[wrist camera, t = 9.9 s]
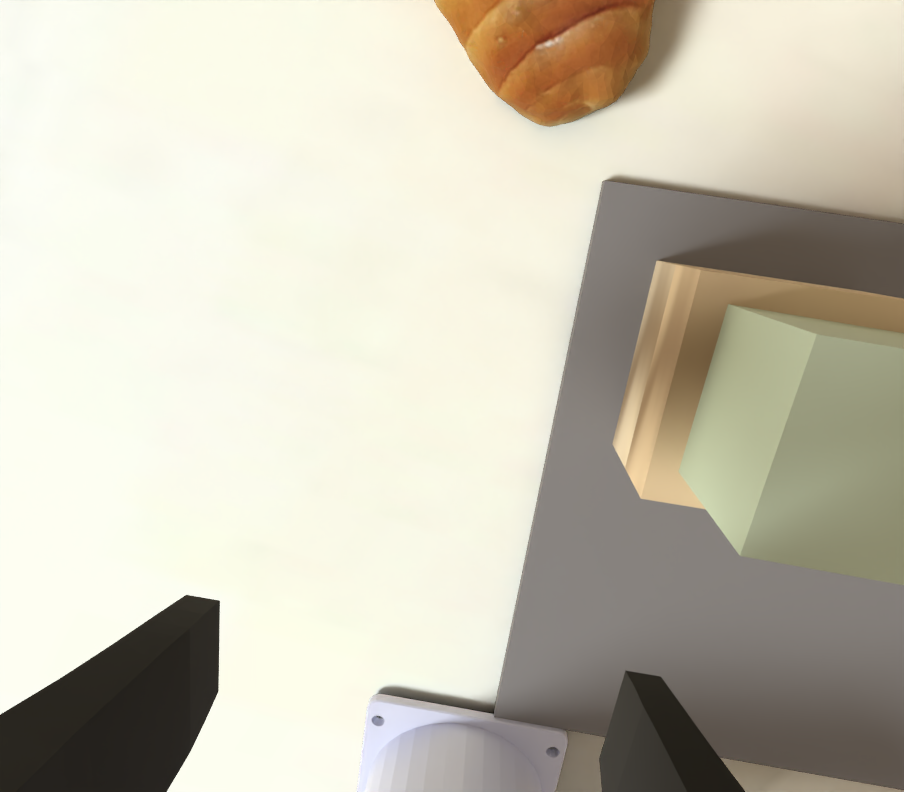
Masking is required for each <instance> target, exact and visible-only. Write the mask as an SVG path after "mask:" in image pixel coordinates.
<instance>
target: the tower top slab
mask: <svg viewBox="0 0 904 792" xmlns="http://www.w3.org/2000/svg"><path fill="white" fill-rule="evenodd" d="M728 304H730V305H736V306H742V307H749V308H755V309H761V310H767V311H773V312H779V313H785V314H791V315H797V316H803V317H809V318H815V319H821V320H827V321H833V322H839V323H845V324H851V325H857V326H863V327H869V328H875V329H881V330H887V331H893V332H900V333H904V299H902V298H896V297H889V296H882V295H876V294H869V293H862V292H856V291H849V290H842V289H836V288H829V287H822V286H815V285H809V284H802V283H795V282H789V281H782V280H775V279H769V278H762V277H755V276H749V275H742V274H735V273H728V272H722V271H715V270H708V269H702V268H695V267H688V266H682V265H676V267H675V271H674V275H673V279H672V283H671V287H670V291H669V295H668V299H667V303H666V307H665V311H664V315H663V319H662V323H661V327H660V331H659V335H658V339H657V343H656V347H655V351H654V355H653V359H652V363H651V367H650V371H649V375H648V379H647V382H646V386H645V390H644V394H643V398H642V402H641V406H640V410H639V414H638V418H637V422H636V426H635V430H634V434H633V438H632V442H631V446H630V450H629V454H628V458H627V462H626V466H625V469H626V471H627V473H628V475H629V477H630V479H631V481H632V483H633V485H634V487H635V489H636V490H637V492H638V494H639V496H640V498H641V499H646V500H652V501H658V502H664V503H670V504H676V505H683V506H689V507H695V508H701V509H705V507H704V506H703V505H702V503H701V502H700V501H699V499H698V498H697V497H696V495H695V494H694V492H693V491H692V490H691V488H690V487H689V486H688V484H687V483H686V481H685V480H684V479H683V477H682V476H681V475H680V473H679V472H678V471H679V468H680V465H681V461H682V458H683V455H684V451H685V448H686V444H687V441H688V438H689V434H690V431H691V428H692V424H693V421H694V417H695V414H696V411H697V407H698V404H699V401H700V397H701V394H702V391H703V387H704V384H705V380H706V377H707V374H708V370H709V367H710V364H711V360H712V357H713V353H714V350H715V347H716V343H717V340H718V337H719V333H720V330H721V326H722V323H723V320H724V316H725V313H726V310H727V306H728Z"/></svg>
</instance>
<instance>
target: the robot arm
mask: <svg viewBox="0 0 904 792" xmlns="http://www.w3.org/2000/svg"><path fill="white" fill-rule="evenodd" d="M219 612H220V601H218V600H212V599H206V598H201V597H195V596H189V595H186V596H184V597H183V598H181V599H180V600H178V601H176V602H175V603H173V604H172V605H170V606H169V607H167V608H166V609H164V610H163V611H161V612H160V613H158V614H157V615H155V616H154V617H152V618H151V619H150V620H148V621H147V622H145V623H144V624H142V625H141V626H139V627H138V628H136V629H135V630H133V631H132V632H130V633H129V634H127V635H126V636H124V637H123V638H121V639H120V640H118V641H117V642H115V643H114V644H112V645H111V646H109V647H108V648H106V649H105V650H103V651H102V652H100V653H99V654H97V655H96V656H94V657H93V658H91V659H90V660H88V661H87V662H85V663H83V664H82V665H80V666H79V667H77V668H76V669H74V670H73V671H71V672H70V673H68V674H67V675H65V676H63V677H62V678H60V679H59V680H57V681H55V682H54V683H52V684H50V685H49V686H47V687H45V688H44V689H42V690H40V691H39V692H37V693H35V694H34V695H32V696H30V697H29V698H27V699H26V700H24V701H22V702H21V703H19V704H17V705H16V706H14V707H12V708H11V709H9V710H7V711H6V712H4V713H2V714H1V715H0V792H167V790H168V788H169V787H170V785H171V783H172V782H173V780H174V778H175V777H176V775H177V773H178V772H179V770H180V768H181V767H182V765H183V763H184V761H185V760H186V758H187V756H188V755H189V753H190V751H191V749H192V747H193V745H194V743H195V741H196V739H197V737H198V734H199V732H200V730H201V728H202V726H203V724H204V722H205V720H206V717H207V715H208V713H209V711H210V709H211V706H212V704H213V702H214V700H215V698H216V695H217V693H218V677H219ZM376 716H381V717H383V718H378V717H376ZM567 745H568V737H567V732H566V731H565V730H564V729H558V728H553V727H547V726H541V725H536V724H530V723H525V722H519V721H513V720H508V719H502V718H497V717H494V714H492V713H486V712H480V711H475V710H469V709H463V708H458V707H452V706H447V705H441V704H435V703H430V702H424V701H419V700H413V699H407V698H402V697H396V696H390V695H385V694H376V695H373V696H372V697H371V698H370V700H369V703H368V707H367V713H366V721H365V730H364V738H363V746H362V754H361V762H360V770H359V778H358V786H357V792H555V791H556V787H557V784H558V780H559V776H560V772H561V768H562V764H563V760H564V757H565V753H566V749H567ZM550 747H555V749H550ZM599 760H600V771H601V783H602V792H745V791H744V789H743V788H742V787H741V785H740V784H739V783H738V781H737V780H736V779H735V777H734V776H733V775H732V774H731V772H730V771H729V770H728V768H727V767H726V766H725V764H724V763H723V762H722V760H721V759H720V758H719V756H718V755H717V753H716V752H715V751H714V749H713V748H712V747H711V745H710V744H709V743H708V741H707V740H706V738H705V737H704V736H703V734H702V733H701V732H700V730H699V729H698V727H697V726H696V725H695V723H694V722H693V720H692V719H691V718H690V716H689V715H688V713H687V712H686V711H685V709H684V708H683V706H682V705H681V704H680V702H679V701H678V700H677V698H676V697H675V695H674V694H673V693H672V691H671V690H670V688H669V687H668V686H667V684H666V683H665V682H664V680H663V679H662V677H661V676H655V675H649V674H643V673H637V672H632V671H626V670H625V674H624V677H623V681H622V684H621V687H620V691H619V694H618V698H617V701H616V704H615V708H614V711H613V714H612V718H611V721H610V725H609V728H608V731H607V735H606V738H605V742H604V745H603V748H602V752H601V755H600V759H599Z"/></svg>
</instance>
